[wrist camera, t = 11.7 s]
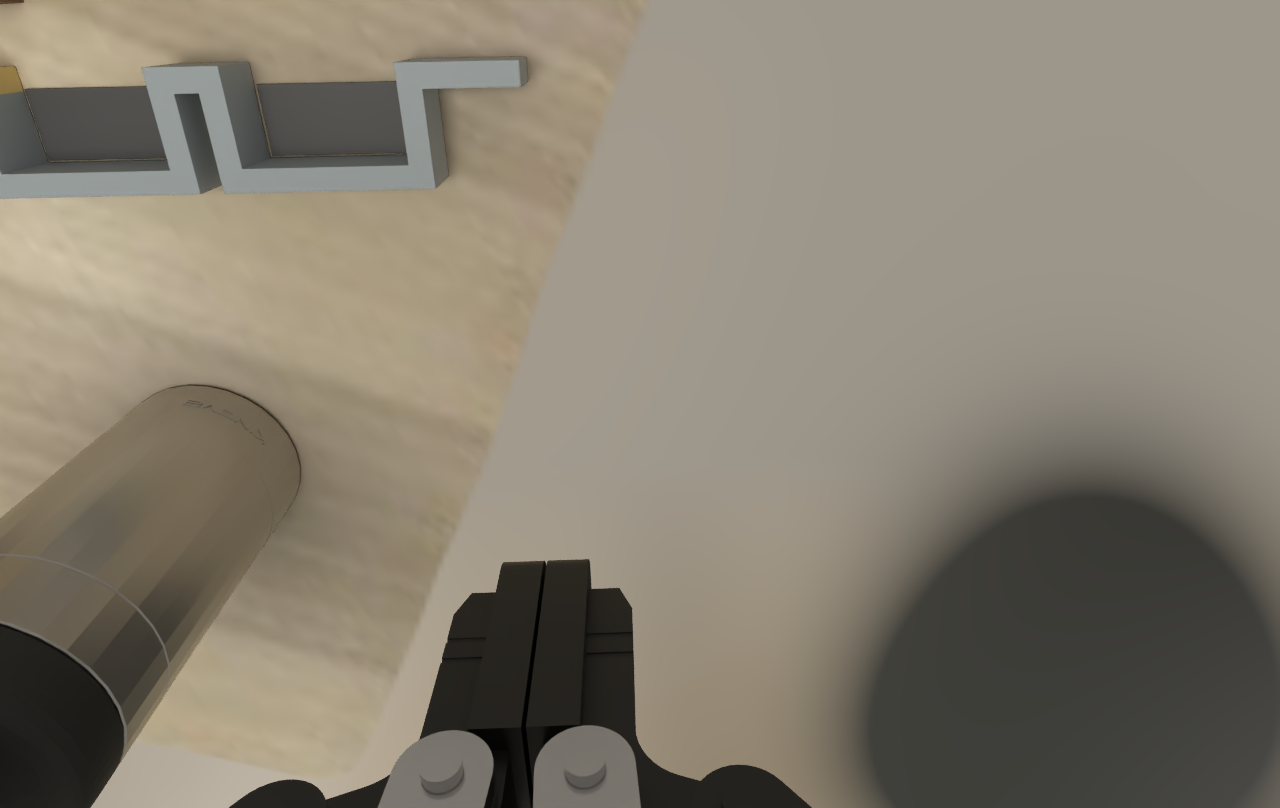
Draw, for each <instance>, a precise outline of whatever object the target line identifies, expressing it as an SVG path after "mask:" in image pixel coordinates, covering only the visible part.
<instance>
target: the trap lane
mask: <svg viewBox="0 0 1280 808" xmlns="http://www.w3.org/2000/svg"><path fill="white" fill-rule="evenodd" d="M141 68H142V72H143V75H144V79H145V83H146V86H144V87H94V88H44V89H24V90H25V93H26V95H27V98H28V101H29V104H30V107H31V110H32V113H33V116H34V118H35V121H36V124H37V127H38V130H39V133H40V136H41V139H42V142H43V144H44V147H45V150H46V153H47V156H48V159H49V161H57V160H103V159H149V158H167V160H131V161H85V162H48V160H47V157H46V154H45V151H44V148H43V146H42V143H41V140H40V137H39V134H38V131H37V128H36V125H35V123H34V120H33V117H32V114H31V111H30V108H29V105H28V102H27V99H26V97H25V94H24V92H16V93H8V94H0V199H13V198H57V197H101V196H145V195H189V194H202V193H205V192H207V191H209V190H212V189H214V188H216V187H218V186H221V185H222V187H223V191H224V194H233V193H277V192H321V191H365V190H410V189H436V188H437V187H438V186H439V185H440V184H441V183H442V182H443V181H444V180H445V179H446V178H447V177H448V176H449V174H448V166H447V158H446V150H445V142H444V134H443V126H442V118H441V110H440V102H439V94H438V89H441V88H490V87H521V86H522V85H524V84H525V83H526V82H528V75H527V62H526V57H476V58H424V59H408V60H403V61H398V62H394V69H395V76H396V81H393V82H344V83H294V84H257V89H258V93H259V98H260V102H261V107H262V111H263V116H264V120H265V125H266V129H267V134H268V138H269V143H270V147H271V152H272V156H286V155H332V154H378V153H407V154H406V155H360V156H314V157H270V155H269V150H268V146H267V141H266V137H265V132H264V128H263V123H262V119H261V114H260V110H259V105H258V101H257V96H256V92H255V87H254V83H253V78H252V74H251V69H250V65H249V62H220V63H177V64H168V65H159V66H150V67H141Z"/></svg>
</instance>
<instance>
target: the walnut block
mask: <svg viewBox="0 0 1280 808" xmlns="http://www.w3.org/2000/svg"><path fill="white" fill-rule="evenodd" d="M23 2H24V1H23V0H0V4H9V3H23Z"/></svg>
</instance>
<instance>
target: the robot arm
mask: <svg viewBox="0 0 1280 808" xmlns="http://www.w3.org/2000/svg"><path fill="white" fill-rule="evenodd" d="M299 483H300V465H299V461H298V457H297V454H296V450H295V448H294V446H293V445H292V443H291V441H290V439H289V437H288V435H287V434H286V433H285V431H284V430H283V429H282V428H281V426H280V425H279V424H278V423H277V421H275V420H274V419H273V418H272V417H271V416H270V415H269V414H267V413H266V412H265V411H264V410H263V409H262V408H260V407H258V406H257V405H255V404H253V403H252V402H250V401H249V400H247V399H245V398H243V397H240V396H238V395H236V394H233V393H231V392H228V391H225V390H221V389H216V388H212V387H207V386H182V387H175V388H169V389H167V390H164V391H161V392H159V393H156V394H154V395H152V396H151V397H149V398H148V399H147V400H145V401H144V402H142V403H141V404H140V405H138V406H137V407H136V408H135V409H134V410H132V411H131V412H130V413H129V414H127V415H126V416H125V417H124V418H123V419H121V420H120V421H119V422H118V423H116V424H115V425H114V426H113V427H112V428H110V429H109V430H108V431H107V432H105V433H104V434H103V435H101V436H100V437H99V438H98V439H96V440H95V441H94V442H93V443H91V444H90V445H89V446H88V447H87V448H85V449H84V450H83V451H82V452H80V453H79V454H78V455H77V456H76V457H74V458H73V459H72V460H71V461H70V462H68V463H67V464H66V465H65V466H63V467H62V468H61V469H60V470H59V471H57V472H56V473H55V474H54V475H52V476H51V477H50V478H49V479H48V480H46V481H45V482H44V483H43V484H42V485H40V486H39V487H38V488H37V489H35V490H34V491H33V492H32V493H31V494H29V495H28V496H27V497H26V498H25V499H23V500H22V501H21V502H20V503H18V504H17V505H16V506H15V507H14V508H12V509H11V510H10V511H9V512H7V513H6V514H5V515H4V516H3V517H1V518H0V808H90V807H91V806H92V805H93V803H94V802H95V800H96V799H97V797H98V796H99V794H100V793H101V791H102V790H103V788H104V787H105V785H106V784H107V782H108V780H109V779H110V778H111V776H112V775H113V773H114V772H115V770H116V768H117V767H118V765H119V763H120V762H121V761H122V759H123V758H124V756H125V755H126V753H127V752H128V750H129V748H130V747H131V746H132V744H133V743H134V741H135V740H136V738H137V737H138V735H139V734H140V732H141V731H142V729H143V728H144V726H145V724H146V723H147V721H148V720H149V718H150V717H151V715H152V714H153V712H154V711H155V709H156V708H157V706H158V705H159V703H160V702H161V700H162V698H163V696H164V695H165V693H166V692H167V690H168V689H169V687H170V686H171V684H172V683H173V681H174V680H175V678H176V677H177V675H178V674H179V672H180V671H181V669H182V668H183V666H184V665H185V663H186V662H187V660H188V659H189V657H190V656H191V654H192V653H193V651H194V650H195V648H196V647H197V645H198V644H199V642H200V641H201V639H202V638H203V636H204V635H205V633H206V631H207V630H208V628H209V627H210V625H211V624H212V622H213V621H214V619H215V618H216V616H217V615H218V613H219V612H220V610H221V609H222V607H223V606H224V604H225V603H226V601H227V600H228V598H229V597H230V595H231V594H232V592H233V591H234V589H235V588H236V586H237V585H238V583H239V582H240V580H241V579H242V577H243V576H244V574H245V573H246V571H247V570H248V568H249V566H250V565H251V563H252V562H253V560H254V559H255V557H256V556H257V554H258V553H259V551H260V550H261V549H262V547H263V546H264V544H265V543H266V541H267V540H268V538H269V537H270V535H271V534H272V532H273V531H274V529H275V528H276V526H277V525H278V523H279V522H280V520H281V519H282V517H283V516H284V514H285V513H286V511H287V509H288V508H289V506H290V505H291V503H292V501H293V500H294V498H295V496H296V494H297V490H298V487H299ZM632 625H633V624H632V607H631V606H630V604H629V603H628V601H627V600H626V598H625V596H624V595H623V593H622V592H621V590H620V588H608V589H591V573H590V561H589V559H585V560H556V561H548V562H547V566H546V563H545V561H530V562H504V563H503V564H502V566H501V570H500V575H499V580H498V585H497V589H496V592H495V593H472V594H471V595H470V596H469V598H468V599H467V600H466V601H465V602H464V603H463V605H462V606H461V607H460V608H459V609H458V610H457V612H456V613H455V614H454V616H453V620H452V625H451V627H450V631H449V635H448V642H447V643H446V646H445V649H444V653H443V657H442V663H441V664H440V667H439V671H438V675H437V679H436V682H435V686H434V689H433V693H432V697H431V700H430V704H429V708H428V711H427V715H426V719H425V722H424V726H423V730H422V733H421V736H420V739H419V741H418V742H416V743H414V744H413V745H412V746H410V747H409V748H408V749H407V750H406V751H405V752H404V753H403V754H402V755H401V756H400V758H399V759H398V760H397V762H396V763H395V765H394V767H393V769H392V772H391V774H390V775H388V776H387V777H385V778H384V779H382V780H380V781H378V782H376V783H374V784H372V785H369V786H366V787H364V788H361V789H357V790H354V791H351V792H348V793H345V794H342V795H339V796H336V797H333V798H330V799H327V800H325V797H324V795H323V793H322V792H321V791H320V790H319V789H318V788H317V787H316V786H314V785H313V784H311V783H308V782H306V781H301V780H282V781H277V782H273V783H270V784H267V785H265V786H262V787H259V788H257V789H256V790H254V791H252V792H250V793H248V794H247V795H246V796H244V797H243V798H241V799H240V800H238V801H237V802H236V803H234V804H233V805H232V806H231V807H229V808H811V807H810V806H809V805H808V804H807V803H806V802H805V801H804V800H802V799H801V798H800V797H799V796H798V795H797V794H795V793H794V792H793V791H792V790H791V789H790V788H789V787H788V786H786V785H785V784H784V783H783V782H782V781H780V780H779V779H778V778H777V777H775V776H774V775H772V774H771V773H769V772H767V771H765V770H763V769H760V768H757V767H753V766H748V765H730V766H726V767H722V768H720V769H717V770H715V771H713V772H712V773H710V774H708V775H707V776H706V777H705V778H704V779H702V780H701V781H698V780H695V779H691V778H687V777H684V776H680V775H677V774H674V773H671V772H669V771H667V770H664V769H663V768H661V767H659V766H658V765H657V764H655V763H654V762H653V761H652V760H651V759H650V758H649V757H647V755H646V754H645V753H644V751H643V750H642V748H641V746H640V745H639V743H638V740H637V736H636V726H635V690H634V657H633V656H634V655H633V626H632Z"/></svg>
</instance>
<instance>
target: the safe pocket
mask: <svg viewBox="0 0 1280 808" xmlns="http://www.w3.org/2000/svg"><path fill="white" fill-rule="evenodd" d="M16 92H24V91H23V88H22V85H21V82H20V79H19V76H18V73H17V71H16V68H15V67H0V94H8V93H16Z"/></svg>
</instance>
